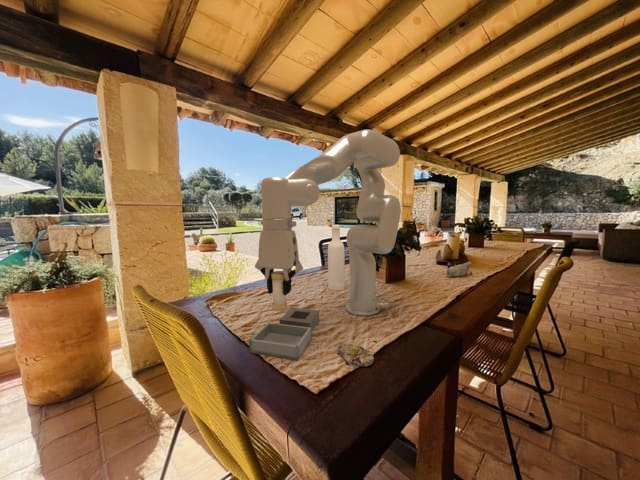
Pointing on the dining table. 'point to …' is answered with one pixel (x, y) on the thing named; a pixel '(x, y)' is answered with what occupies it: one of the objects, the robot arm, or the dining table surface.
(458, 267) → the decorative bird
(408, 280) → the dining table surface
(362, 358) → the mineral rock
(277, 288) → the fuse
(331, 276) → the bottle
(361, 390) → the dining table surface
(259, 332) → the tray
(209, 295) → the dining table surface
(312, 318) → the fuse holder
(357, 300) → the robot arm
